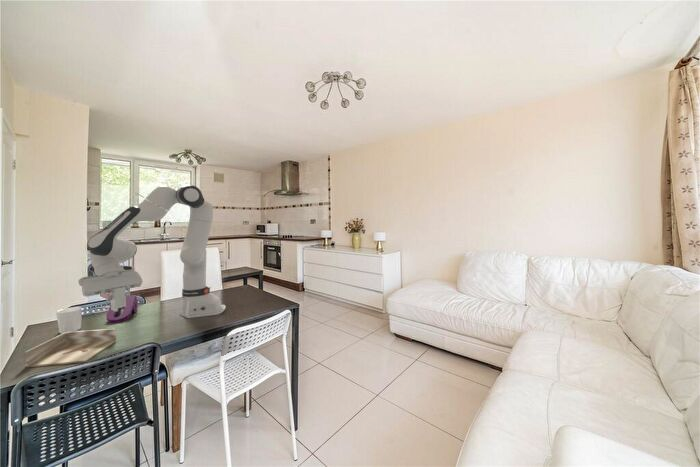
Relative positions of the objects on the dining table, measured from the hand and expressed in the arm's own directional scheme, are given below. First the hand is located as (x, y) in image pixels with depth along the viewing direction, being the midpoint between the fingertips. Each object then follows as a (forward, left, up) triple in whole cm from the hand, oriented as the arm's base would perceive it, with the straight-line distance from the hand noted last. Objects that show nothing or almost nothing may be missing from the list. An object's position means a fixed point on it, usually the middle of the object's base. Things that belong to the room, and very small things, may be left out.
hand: (118, 297), depth 112 cm
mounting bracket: (+14, -25, -18) cm, 34 cm away
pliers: (+28, -39, -18) cm, 52 cm away
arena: (+7, +13, -18) cm, 23 cm away
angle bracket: (-1, +1, -5) cm, 5 cm away
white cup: (+26, -10, -18) cm, 33 cm away
